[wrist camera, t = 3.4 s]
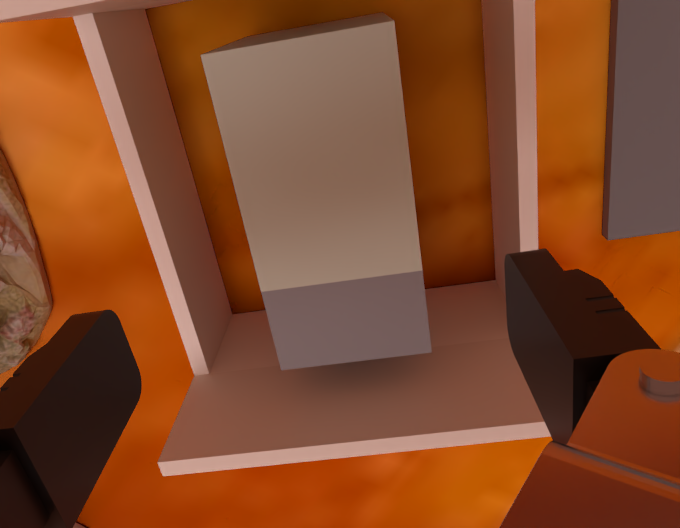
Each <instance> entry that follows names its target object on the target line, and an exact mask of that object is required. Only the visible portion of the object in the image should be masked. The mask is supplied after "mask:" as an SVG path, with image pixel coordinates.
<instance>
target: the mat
mask: <svg viewBox="0 0 680 528" xmlns="http://www.w3.org/2000/svg"><path fill="white" fill-rule="evenodd" d="M673 231H680V0H611V20H610V45H609V70H608V96H607V121H606V146H605V171H604V196H603V222H602V235H603V236H604V237H605V238H606V239H607V240H614V239H621V238H629V237H636V236H644V235H651V234H659V233H666V232H673Z"/></svg>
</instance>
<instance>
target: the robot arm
mask: <svg viewBox="0 0 680 528" xmlns="http://www.w3.org/2000/svg"><path fill="white" fill-rule="evenodd" d="M504 269H505V291H506V313H507V328H508V335H509V340H510V344H511V348H512V351H513V354H514V356H515V358H516V360H517V363H518V365H519V367H520V369H521V371H522V374H523V376H524V378H525V380H526V382H527V385H528V387H529V389H530V391H531V393H532V395H533V398H534V400H535V402H536V404H537V406H538V409H539V411H540V413H541V415H542V417H543V419H544V422H545V424H546V426H547V428H548V430H549V433H550V435H551V437H552V439H553V441H551V442H550V443H548V444H547V446H546V447H545V448H544V450H543V451H542V453H541V455H540V457H539V458H538V460H537V462H536V464H535V465H534V467H533V469H532V471H531V472H530V474H529V476H528V478H527V480H526V481H525V483H524V485H523V487H522V488H521V490H520V492H519V494H518V496H517V497H516V499H515V501H514V503H513V504H512V506H511V508H510V510H509V512H508V513H507V515H506V517H505V519H504V520H503V522H502V524H501V526H500V528H680V353H678V352H674V351H669V350H661V348H660V347H659V346H658V345H657V344H656V343H655V342H654V340H653V339H652V338H651V337H650V336H649V335H648V334H647V333H646V331H645V330H644V329H643V328H642V327H641V326H640V325H639V323H638V322H637V321H636V320H635V319H634V318H633V317H632V315H631V314H630V313H629V312H628V311H625V309H624V306H623V305H622V304H621V303H620V302H619V301H618V300H617V298H614V296H613V294H612V293H611V292H610V290H609V289H608V288H607V287H606V286H605V285H604V284H603V283H602V281H601V280H599V279H597V278H595V277H593V276H591V275H589V274H587V273H585V272H583V271H581V270H579V269H575V270H568V271H563V269H562V268H561V267H560V266H559V264H558V263H557V262H556V260H555V259H554V258H553V257H552V255H551V254H550V253H549V251H548V250H547V249H538V250H531V251H524V252H517V253H510V254H506V256H505V262H504ZM0 389H1V391H0V528H73V526H74V524H75V522H76V521H77V519H78V517H79V515H80V513H81V511H82V509H83V507H84V505H85V503H86V501H87V499H88V497H89V495H90V494H91V492H92V490H93V488H94V486H95V484H96V482H97V480H98V478H99V476H100V474H101V472H102V470H103V468H104V467H105V465H106V463H107V461H108V459H109V457H110V455H111V453H112V451H113V449H114V447H115V445H116V443H117V441H118V440H119V438H120V436H121V434H122V432H123V430H124V428H125V426H126V424H127V422H128V420H129V418H130V416H131V415H132V413H133V411H134V409H135V407H136V405H137V403H138V401H139V398H140V394H141V376H140V372H139V369H138V366H137V364H136V361H135V358H134V356H133V353H132V351H131V348H130V346H129V343H128V341H127V338H126V335H125V333H124V330H123V328H122V325H121V323H120V320H119V318H118V316H117V315H116V314H115V313H114V312H113V311H111V310H103V311H96V312H89V313H82V314H75V315H72V316H71V317H70V318H69V319H68V320H67V321H66V322H65V323H64V324H63V326H62V327H61V328H60V329H59V330H58V331H57V333H56V334H55V335H54V336H53V337H52V338H51V339H50V341H49V342H48V343H47V344H46V345H44V346H43V347H41V348H40V349H39V350H37V351H36V352H34V353H33V354H32V355H30V356H29V357H28V358H27V359H26V360H25V361H24V362H23V363H22V364H21V365H20V367H19V368H18V369H17V370H16V371H15V372H14V373H13V377H10V378H9V379H8V380H7V381H6V382H5V384H4V385H3V386H2V387H1V388H0Z"/></svg>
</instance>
